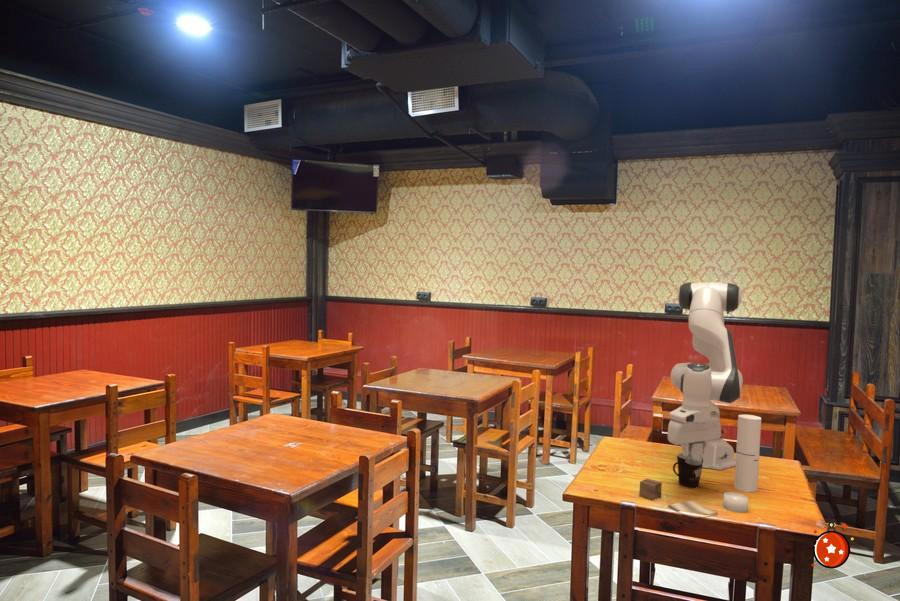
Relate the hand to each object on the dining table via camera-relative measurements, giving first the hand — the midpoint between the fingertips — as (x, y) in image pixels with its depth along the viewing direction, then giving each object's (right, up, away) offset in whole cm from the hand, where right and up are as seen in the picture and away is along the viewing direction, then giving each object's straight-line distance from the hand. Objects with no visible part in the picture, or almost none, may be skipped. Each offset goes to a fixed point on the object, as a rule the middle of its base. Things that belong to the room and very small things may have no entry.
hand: (693, 454), depth 199 cm
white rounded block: (+10, -15, -8) cm, 20 cm away
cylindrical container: (+22, -15, +10) cm, 28 cm away
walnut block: (-15, -14, -1) cm, 20 cm away
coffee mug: (+2, -14, +12) cm, 18 cm away
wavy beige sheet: (-5, -15, -12) cm, 19 cm away
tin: (0, -3, 0) cm, 3 cm away
